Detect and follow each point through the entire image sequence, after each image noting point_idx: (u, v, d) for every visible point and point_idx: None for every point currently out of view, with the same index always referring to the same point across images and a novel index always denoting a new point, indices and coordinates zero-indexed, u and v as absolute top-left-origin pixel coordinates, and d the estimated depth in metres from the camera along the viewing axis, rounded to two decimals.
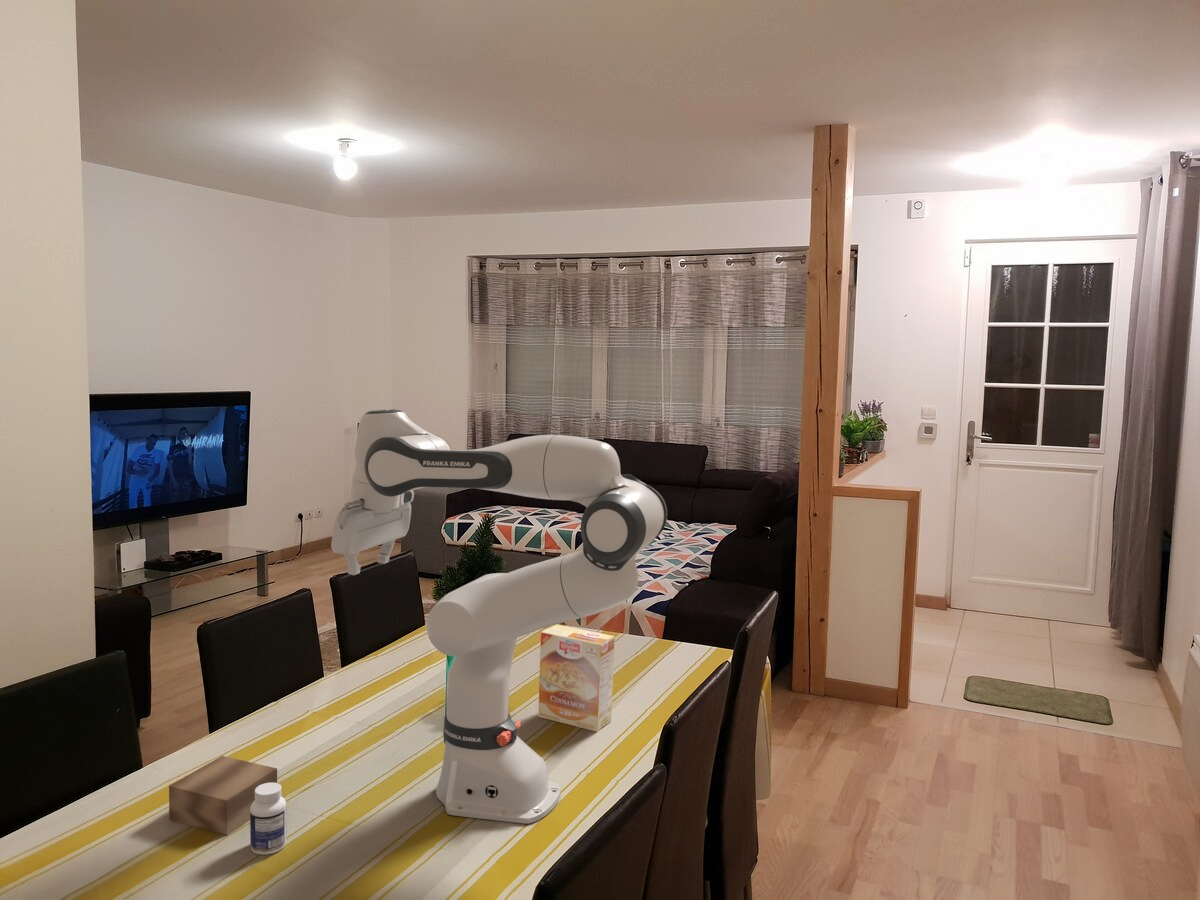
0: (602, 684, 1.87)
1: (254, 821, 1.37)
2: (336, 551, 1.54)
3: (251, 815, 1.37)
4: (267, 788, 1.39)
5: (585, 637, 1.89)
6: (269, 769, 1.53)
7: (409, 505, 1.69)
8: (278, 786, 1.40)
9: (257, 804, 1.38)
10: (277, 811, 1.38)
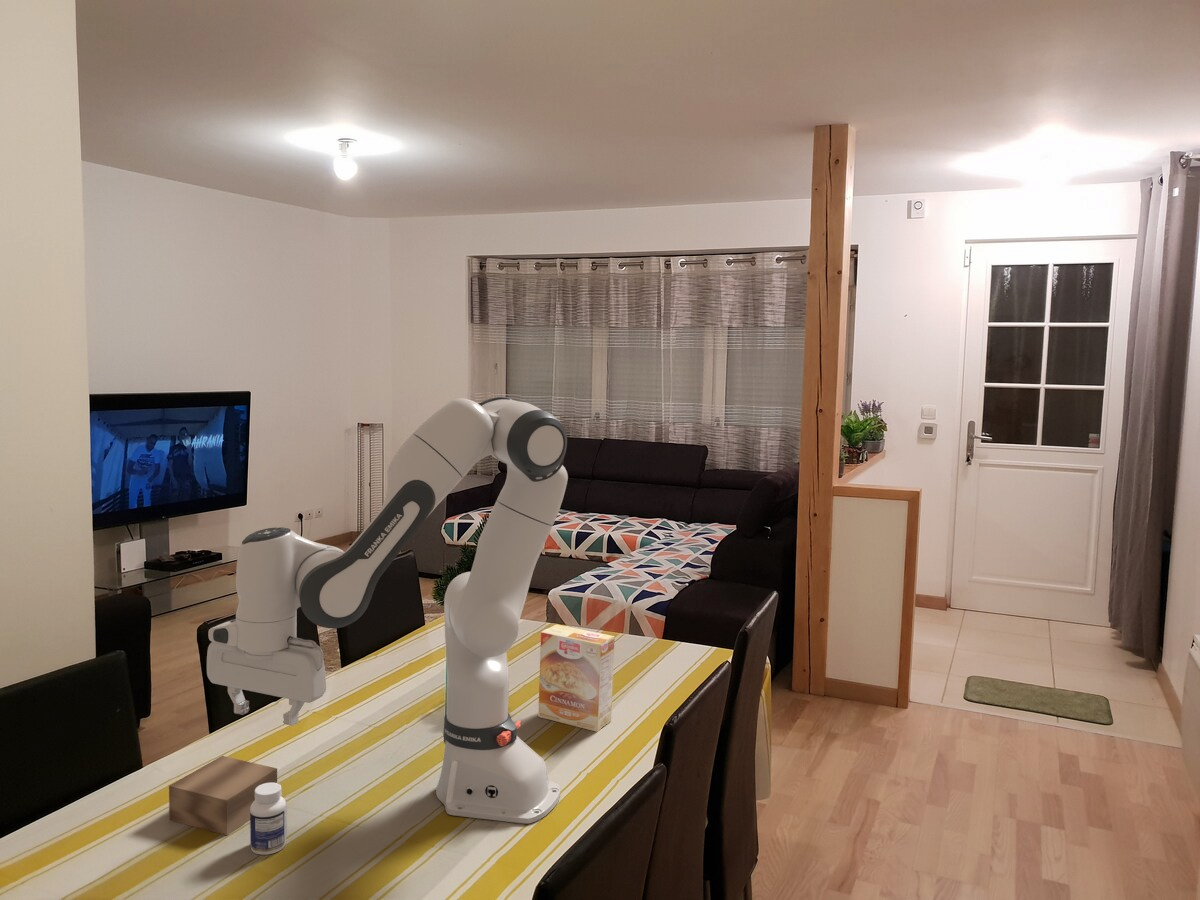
0: (602, 684, 1.87)
1: (254, 821, 1.37)
2: (316, 698, 1.33)
3: (251, 815, 1.37)
4: (267, 788, 1.39)
5: (585, 637, 1.89)
6: (269, 769, 1.53)
7: None
8: (278, 786, 1.40)
9: (257, 804, 1.38)
10: (277, 811, 1.38)
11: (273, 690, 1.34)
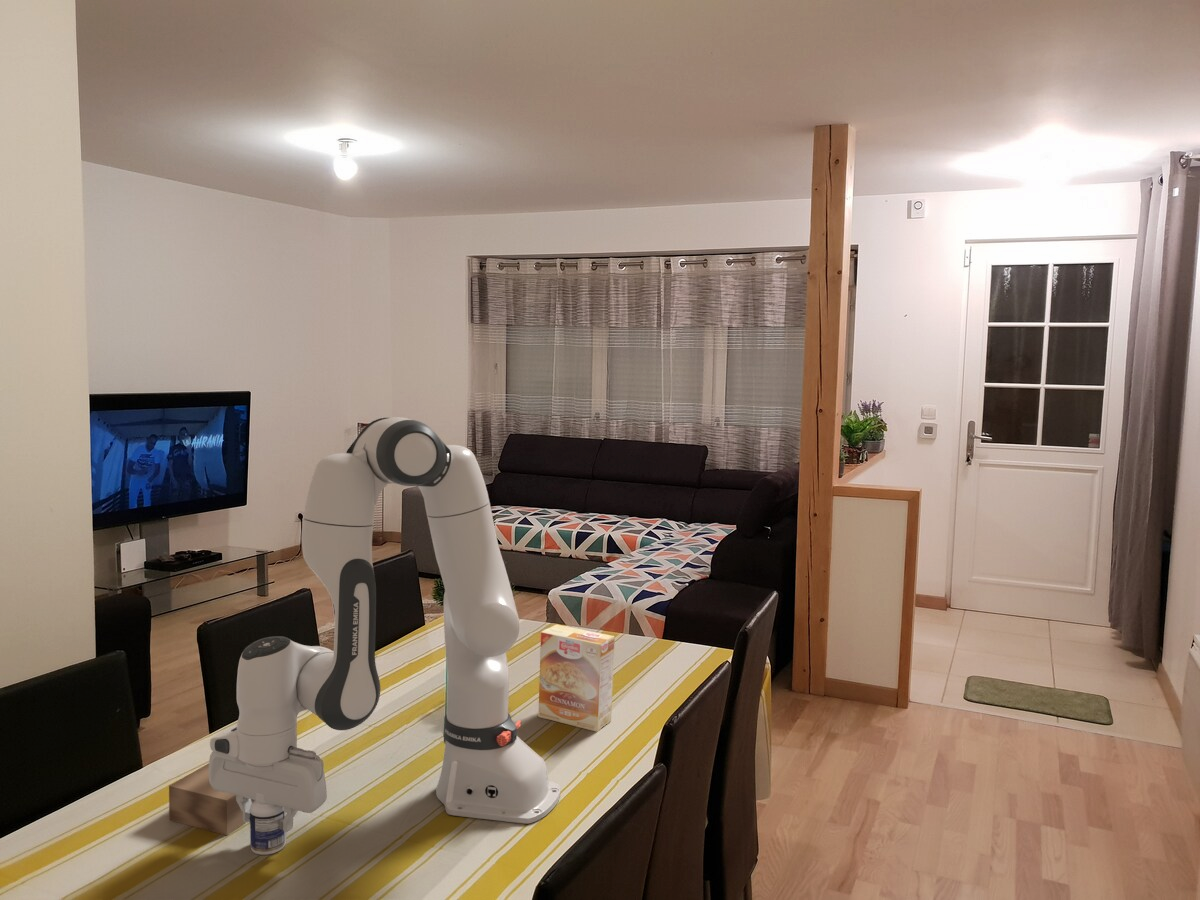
0: (602, 684, 1.87)
1: (254, 821, 1.37)
2: (317, 808, 1.35)
3: (251, 815, 1.37)
4: None
5: (585, 637, 1.89)
6: None
7: None
8: None
9: (257, 804, 1.38)
10: (277, 811, 1.38)
11: (274, 800, 1.36)
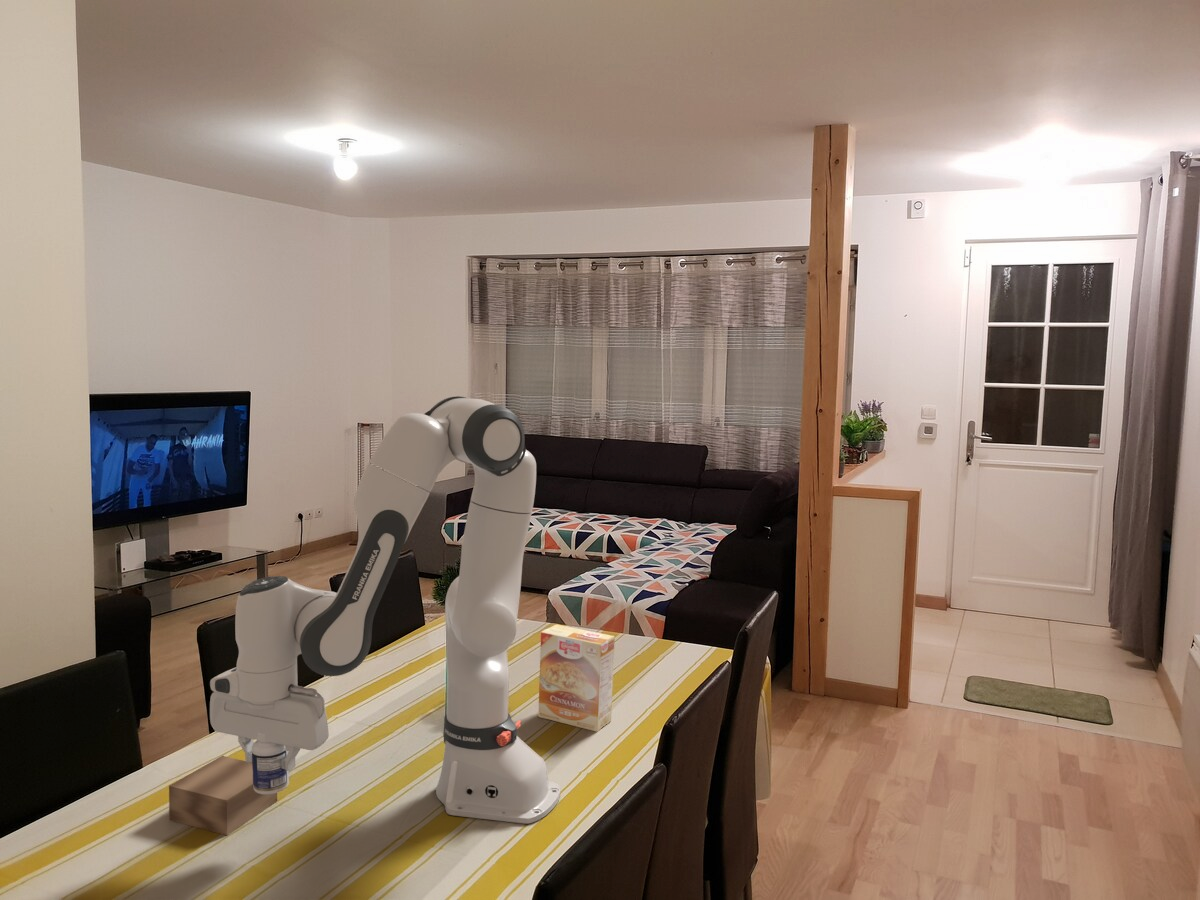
0: (602, 684, 1.87)
1: (256, 760, 1.36)
2: (319, 745, 1.34)
3: (253, 755, 1.37)
4: None
5: (585, 637, 1.89)
6: None
7: None
8: None
9: (259, 743, 1.37)
10: (278, 750, 1.37)
11: (276, 738, 1.36)
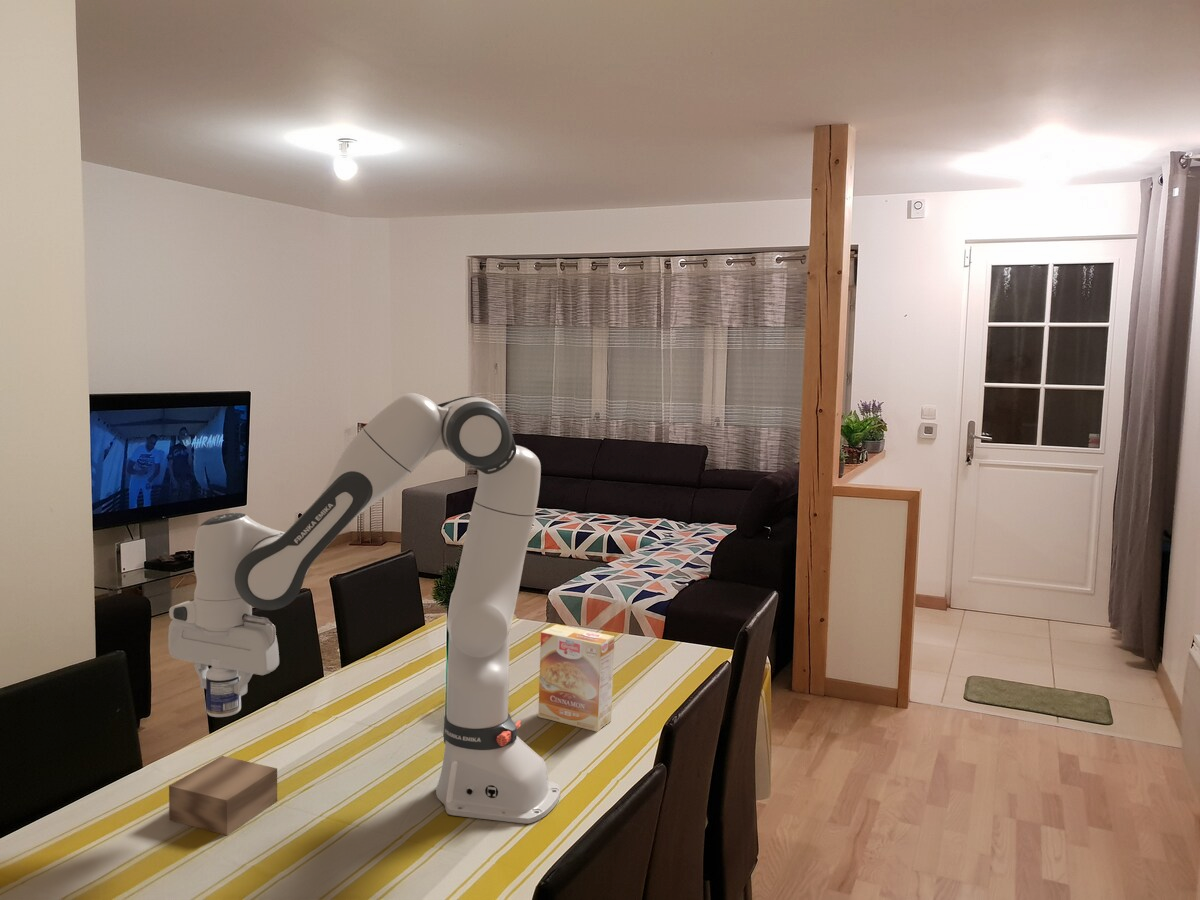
0: (602, 684, 1.87)
1: (209, 685, 1.45)
2: (269, 671, 1.43)
3: (207, 679, 1.45)
4: None
5: (585, 637, 1.89)
6: (269, 769, 1.53)
7: None
8: None
9: (213, 669, 1.46)
10: (231, 676, 1.45)
11: (229, 664, 1.44)
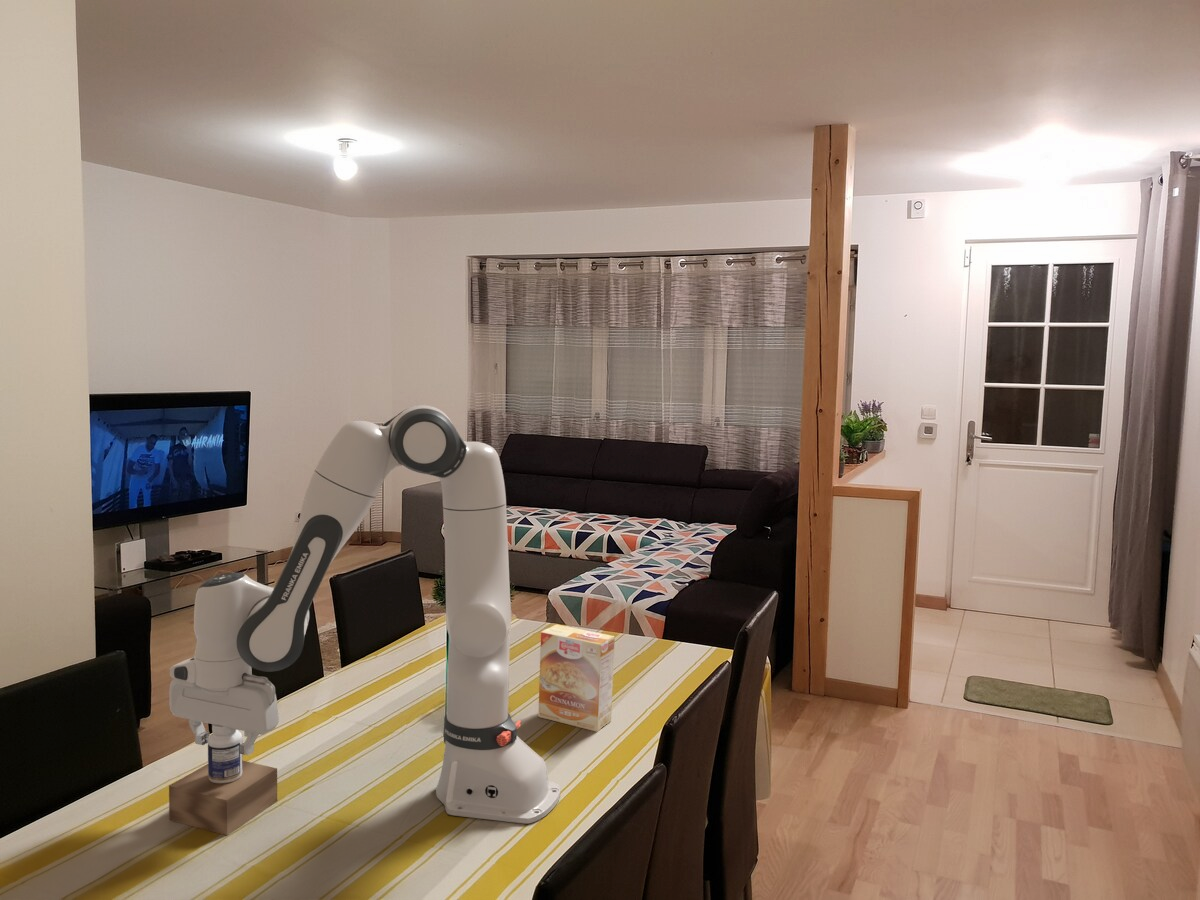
0: (602, 684, 1.87)
1: (211, 752, 1.47)
2: (269, 730, 1.45)
3: (209, 746, 1.47)
4: None
5: (585, 637, 1.89)
6: (269, 769, 1.53)
7: None
8: None
9: (214, 736, 1.47)
10: (232, 743, 1.47)
11: (229, 723, 1.46)
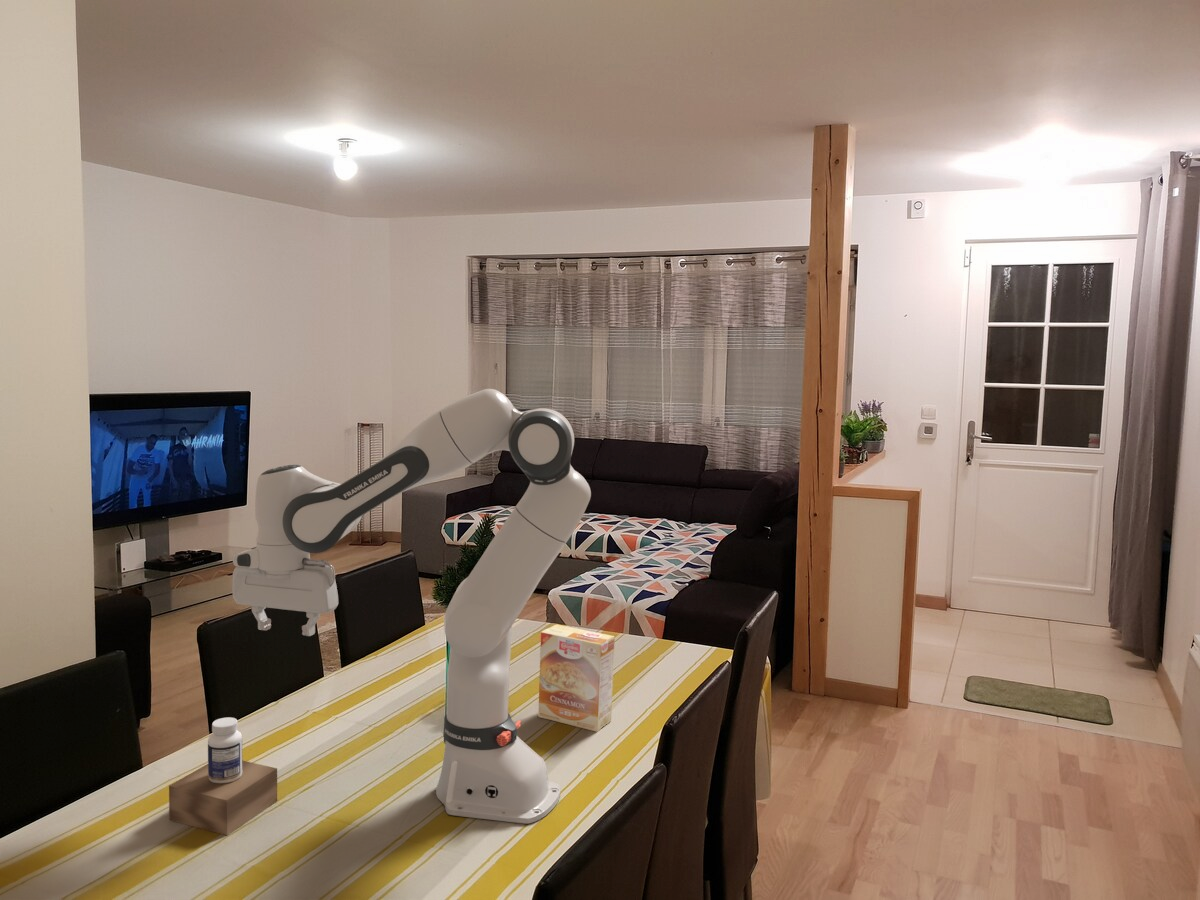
0: (602, 684, 1.87)
1: (211, 752, 1.47)
2: (330, 610, 1.53)
3: (209, 746, 1.47)
4: (224, 721, 1.49)
5: (585, 637, 1.89)
6: (269, 769, 1.53)
7: None
8: (234, 720, 1.49)
9: (214, 736, 1.47)
10: (232, 743, 1.47)
11: (292, 605, 1.54)
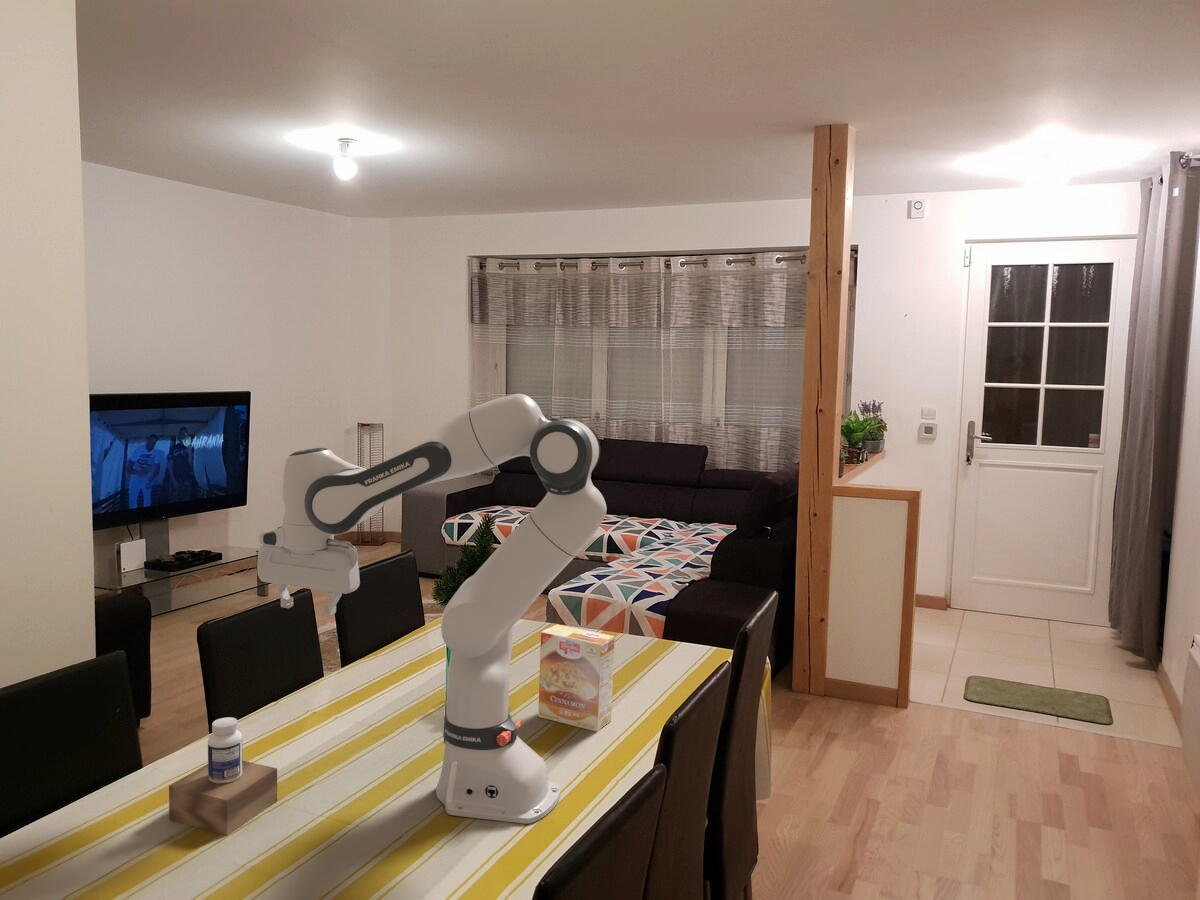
0: (602, 684, 1.87)
1: (211, 752, 1.47)
2: (351, 590, 1.57)
3: (209, 746, 1.47)
4: (224, 721, 1.49)
5: (585, 637, 1.89)
6: (269, 769, 1.53)
7: None
8: (234, 720, 1.49)
9: (214, 736, 1.47)
10: (232, 743, 1.47)
11: (315, 584, 1.58)
